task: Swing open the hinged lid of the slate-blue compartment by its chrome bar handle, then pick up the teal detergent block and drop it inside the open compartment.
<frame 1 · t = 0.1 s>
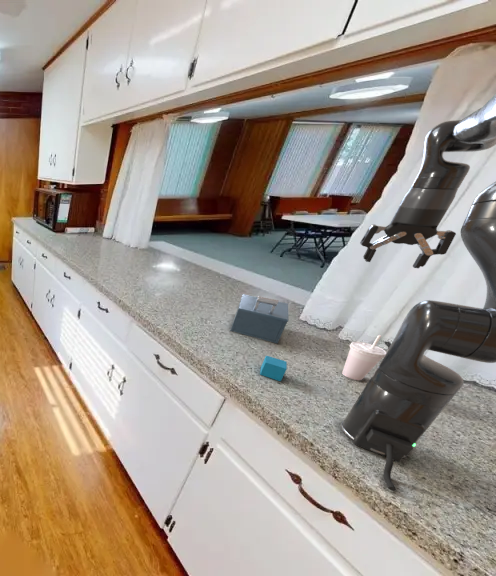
hand: (390, 264, 83), 29 cm above the countertop, tool pointing down, fingers open, 8 cm apart
detergent block: (270, 374, 85), on the countertop
compartment: (254, 328, 108), on the countertop
smoothie: (351, 376, 84), on the countertop
lid: (265, 300, 103), point 12 cm above the countertop, hinge at 0.0°
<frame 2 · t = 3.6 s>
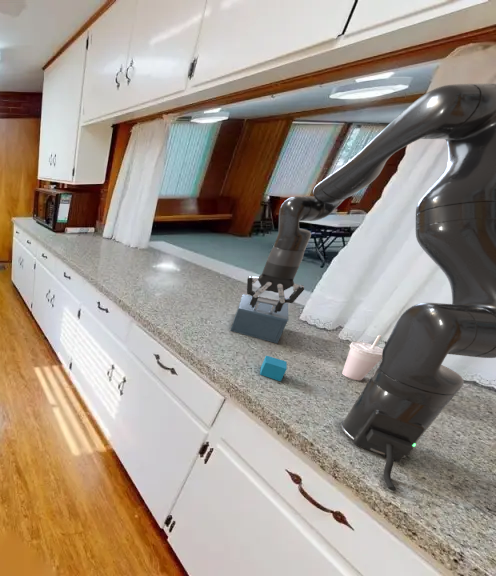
hand: (264, 309, 99), 11 cm above the countertop, tool pointing down, fingers closed on lid, 5 cm apart
lid: (265, 300, 103), point 12 cm above the countertop, hinge at -0.1°, touching gripper
everything else where it was.
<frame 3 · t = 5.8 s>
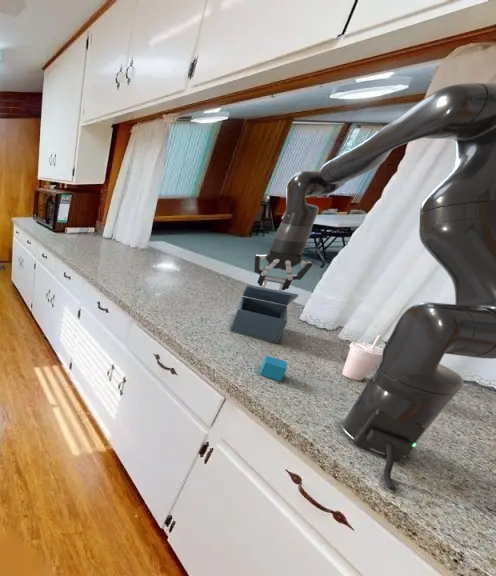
hand: (271, 287, 100), 17 cm above the countertop, tool pointing down, fingers closed on lid, 5 cm apart
lid: (269, 288, 103), point 15 cm above the countertop, hinge at 32.2°, touching gripper
everything else where it was.
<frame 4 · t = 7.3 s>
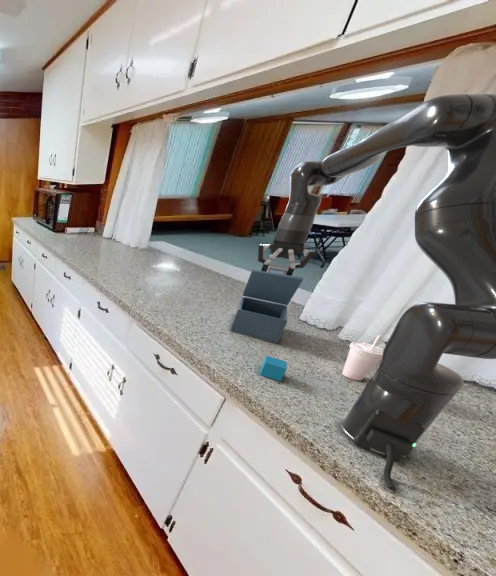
hand: (274, 276, 102), 20 cm above the countertop, tool pointing down, fingers closed on lid, 5 cm apart
lid: (271, 282, 104), point 17 cm above the countertop, hinge at 55.2°, touching gripper
everything else where it was.
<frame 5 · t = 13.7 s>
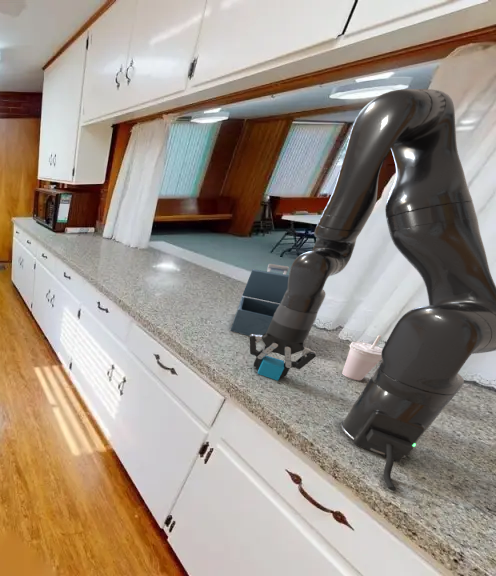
hand: (268, 371, 86), 0 cm above the countertop, tool pointing down, fingers closed on detergent block, 4 cm apart
detergent block: (267, 373, 85), on the countertop, touching gripper
lid: (271, 282, 104), point 17 cm above the countertop, hinge at 55.8°
everything else where it was.
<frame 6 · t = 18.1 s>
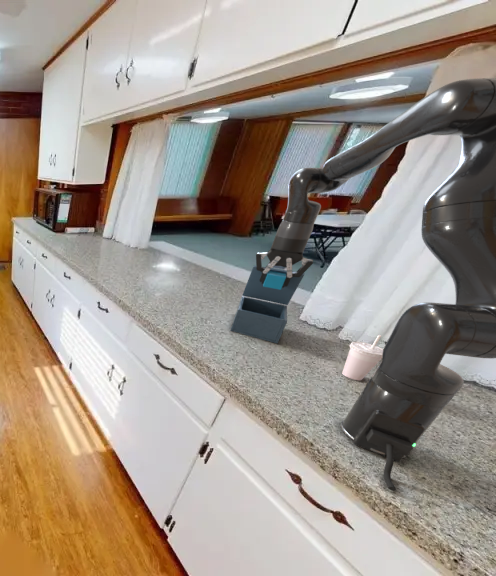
hand: (272, 284, 99), 18 cm above the countertop, tool pointing down, fingers closed on detergent block, 4 cm apart
detergent block: (271, 286, 99), point 18 cm above the countertop, touching gripper
lid: (272, 280, 105), point 17 cm above the countertop, hinge at 63.1°
everything else where it was.
when the fingers open (14 cm above the countertop, at t = 19.6 s): detergent block drops 13 cm, resting on compartment.
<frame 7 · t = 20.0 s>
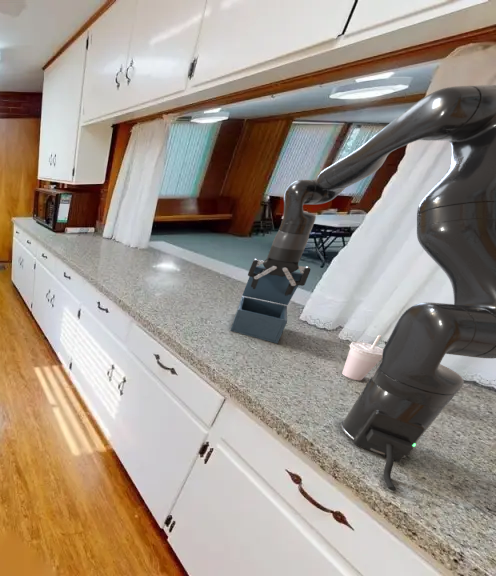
hand: (269, 291, 100), 15 cm above the countertop, tool pointing down, fingers open, 8 cm apart
detergent block: (254, 329, 106), point 1 cm above the countertop, touching compartment
everything else where it was.
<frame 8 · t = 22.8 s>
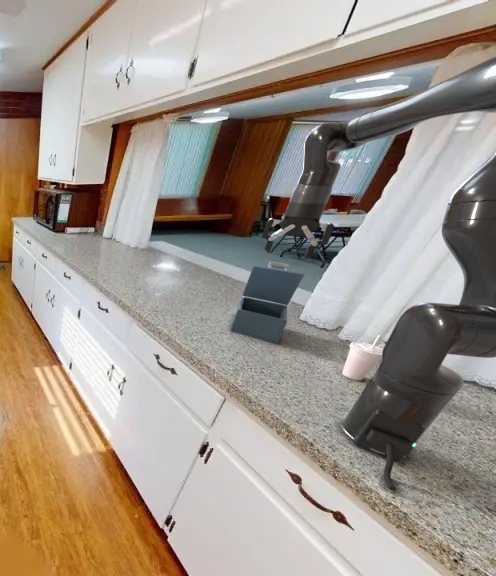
hand: (286, 254, 91), 30 cm above the countertop, tool pointing down, fingers open, 8 cm apart
nothing on the countertop moved.
at the end: lid at +63° (first picture: +0°); detergent block inside the target area in the compartment (2.1 cm from its centre), point 0.8 cm above the compartment's base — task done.
